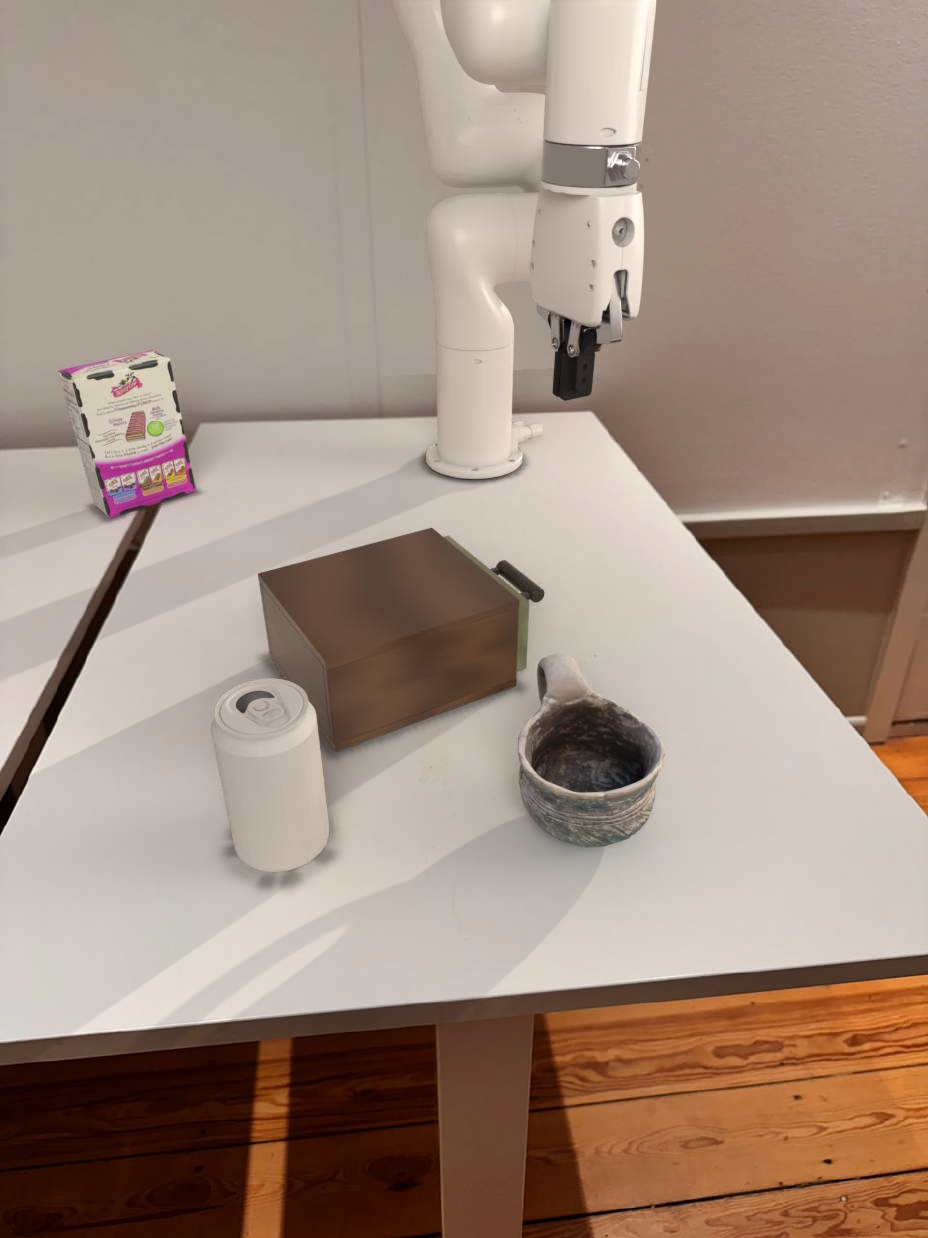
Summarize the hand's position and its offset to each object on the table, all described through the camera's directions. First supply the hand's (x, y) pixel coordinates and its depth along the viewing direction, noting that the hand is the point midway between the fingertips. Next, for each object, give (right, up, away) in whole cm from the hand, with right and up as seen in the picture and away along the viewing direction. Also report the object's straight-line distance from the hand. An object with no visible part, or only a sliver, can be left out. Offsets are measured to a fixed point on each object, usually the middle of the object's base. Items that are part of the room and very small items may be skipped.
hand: (571, 394), depth 79 cm
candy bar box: (-48, -6, +27) cm, 55 cm away
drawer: (-13, -23, -1) cm, 26 cm away
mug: (-2, -34, -16) cm, 37 cm away
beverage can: (-22, -36, -19) cm, 46 cm away
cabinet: (-16, -25, -2) cm, 30 cm away
